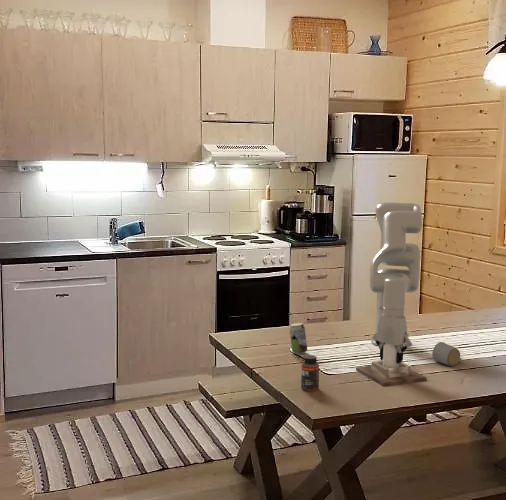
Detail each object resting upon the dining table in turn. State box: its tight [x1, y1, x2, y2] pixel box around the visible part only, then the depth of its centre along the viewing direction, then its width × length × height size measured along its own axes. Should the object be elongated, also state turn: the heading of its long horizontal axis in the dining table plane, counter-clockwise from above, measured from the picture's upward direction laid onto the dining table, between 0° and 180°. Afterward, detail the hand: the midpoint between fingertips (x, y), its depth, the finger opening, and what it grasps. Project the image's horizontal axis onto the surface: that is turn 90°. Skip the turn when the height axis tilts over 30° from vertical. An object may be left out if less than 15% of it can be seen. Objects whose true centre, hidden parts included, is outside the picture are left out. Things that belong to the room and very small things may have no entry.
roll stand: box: [355, 360, 427, 387], centre depth 250 cm, size 18×18×4 cm
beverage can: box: [288, 322, 308, 355], centre depth 274 cm, size 6×7×12 cm
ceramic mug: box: [432, 341, 463, 367], centre depth 265 cm, size 11×8×8 cm
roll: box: [383, 343, 399, 369], centre depth 249 cm, size 6×12×6 cm
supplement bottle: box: [300, 354, 320, 392], centre depth 234 cm, size 6×6×11 cm
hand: (391, 360), depth 250 cm, fingers closed on roll, 5 cm apart
